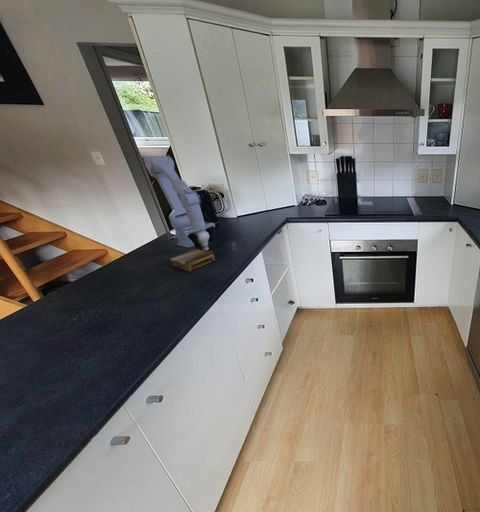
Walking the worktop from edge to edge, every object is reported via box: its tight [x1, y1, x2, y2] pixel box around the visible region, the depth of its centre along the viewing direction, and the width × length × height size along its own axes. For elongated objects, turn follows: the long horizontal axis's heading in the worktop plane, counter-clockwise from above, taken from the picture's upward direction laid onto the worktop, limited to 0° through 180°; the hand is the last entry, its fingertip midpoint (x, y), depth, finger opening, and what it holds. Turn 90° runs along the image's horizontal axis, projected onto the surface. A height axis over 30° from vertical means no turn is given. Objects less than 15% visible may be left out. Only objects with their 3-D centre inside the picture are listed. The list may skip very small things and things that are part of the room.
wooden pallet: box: [170, 248, 216, 273], centre depth 123 cm, size 12×12×5 cm
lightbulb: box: [195, 230, 210, 252], centre depth 134 cm, size 6×6×11 cm
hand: (204, 244), depth 135 cm, fingers closed on lightbulb, 6 cm apart
